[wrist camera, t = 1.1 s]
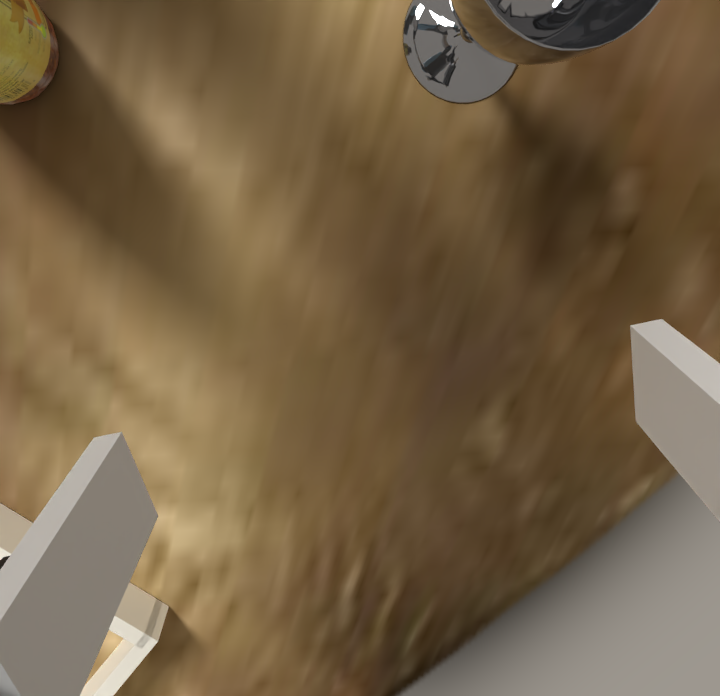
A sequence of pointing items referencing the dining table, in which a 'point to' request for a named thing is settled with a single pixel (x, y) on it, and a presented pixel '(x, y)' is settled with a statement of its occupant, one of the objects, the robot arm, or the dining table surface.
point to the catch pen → (132, 621)
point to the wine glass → (505, 38)
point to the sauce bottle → (25, 51)
